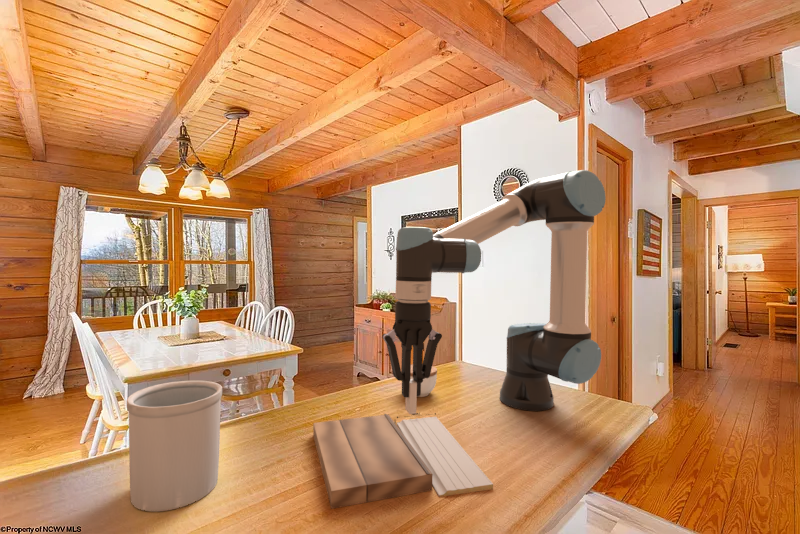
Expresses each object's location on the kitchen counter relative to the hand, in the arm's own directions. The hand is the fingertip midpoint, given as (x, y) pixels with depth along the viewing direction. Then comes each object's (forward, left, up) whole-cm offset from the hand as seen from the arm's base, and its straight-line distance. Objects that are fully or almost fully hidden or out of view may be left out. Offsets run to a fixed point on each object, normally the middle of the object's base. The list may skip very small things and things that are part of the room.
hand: (410, 411), depth 84 cm
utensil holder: (+44, -1, -10) cm, 45 cm away
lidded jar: (-16, -35, -10) cm, 40 cm away
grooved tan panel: (+10, -1, -10) cm, 13 cm away
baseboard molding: (-6, 0, -10) cm, 12 cm away
